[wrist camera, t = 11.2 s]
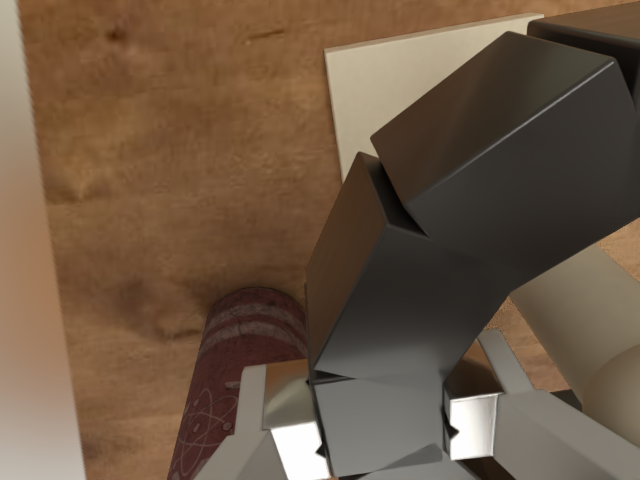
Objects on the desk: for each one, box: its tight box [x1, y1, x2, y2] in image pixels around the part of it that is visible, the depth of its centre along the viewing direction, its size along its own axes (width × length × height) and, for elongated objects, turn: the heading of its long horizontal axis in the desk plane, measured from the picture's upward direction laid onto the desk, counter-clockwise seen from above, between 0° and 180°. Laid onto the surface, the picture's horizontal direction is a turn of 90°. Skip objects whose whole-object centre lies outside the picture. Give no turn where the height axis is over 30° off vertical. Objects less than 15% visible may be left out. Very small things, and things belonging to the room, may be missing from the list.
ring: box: [304, 1, 640, 480], centre depth 9 cm, size 12×12×3 cm
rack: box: [324, 12, 640, 448], centre depth 14 cm, size 9×9×18 cm
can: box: [167, 287, 308, 480], centre depth 21 cm, size 6×6×14 cm
